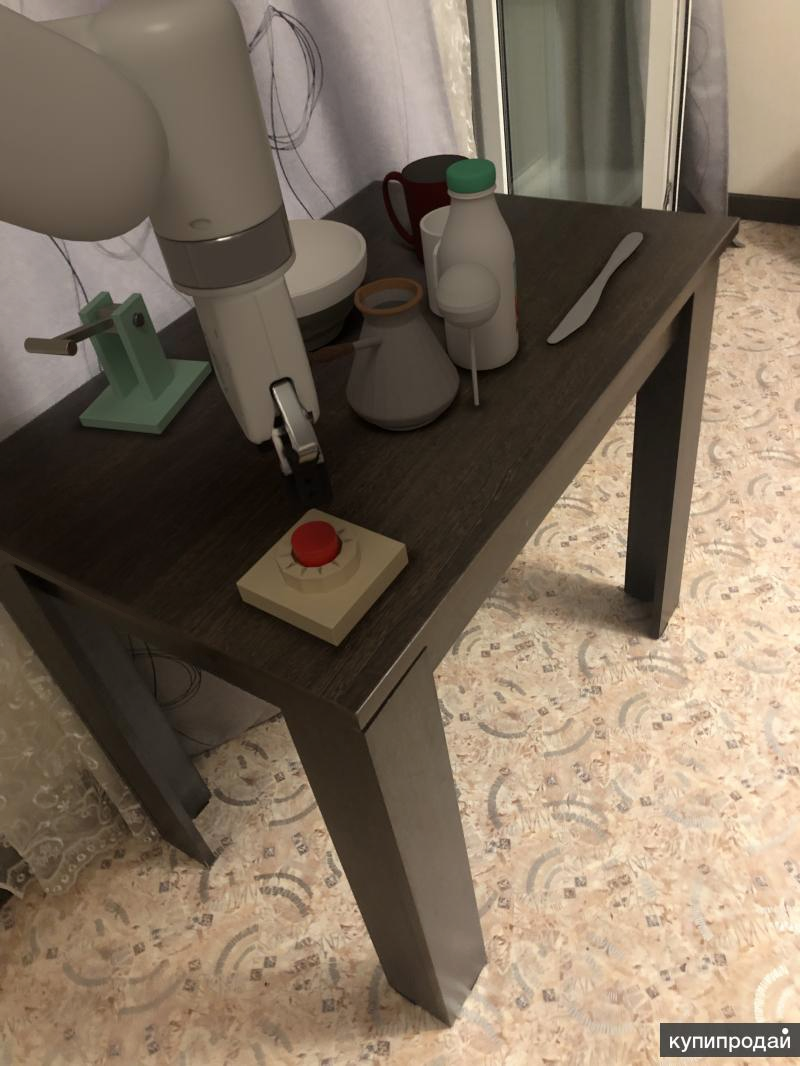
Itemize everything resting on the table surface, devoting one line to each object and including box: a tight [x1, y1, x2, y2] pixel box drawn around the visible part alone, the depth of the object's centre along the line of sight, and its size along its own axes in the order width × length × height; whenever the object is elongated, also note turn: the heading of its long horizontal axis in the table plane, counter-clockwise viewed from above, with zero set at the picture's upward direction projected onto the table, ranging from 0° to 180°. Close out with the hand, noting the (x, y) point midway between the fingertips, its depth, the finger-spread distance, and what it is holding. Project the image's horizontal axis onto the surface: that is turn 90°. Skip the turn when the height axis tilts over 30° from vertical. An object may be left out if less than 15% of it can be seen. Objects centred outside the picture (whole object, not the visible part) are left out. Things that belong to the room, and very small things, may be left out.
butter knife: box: [546, 231, 644, 344], centre depth 96 cm, size 1×27×3 cm
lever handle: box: [23, 302, 122, 357], centre depth 81 cm, size 12×5×2 cm, turn 162°
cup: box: [420, 206, 450, 318], centre depth 93 cm, size 8×12×10 cm
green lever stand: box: [77, 291, 213, 435], centre depth 88 cm, size 12×10×12 cm
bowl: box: [284, 218, 368, 352], centre depth 94 cm, size 20×20×10 cm
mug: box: [381, 153, 470, 265], centre depth 104 cm, size 12×9×11 cm
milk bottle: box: [439, 157, 519, 371], centre depth 82 cm, size 8×8×20 cm
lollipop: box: [435, 262, 501, 406], centre depth 77 cm, size 6×6×15 cm
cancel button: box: [291, 521, 339, 567], centre depth 65 cm, size 4×4×2 cm
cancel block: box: [235, 508, 409, 647], centre depth 66 cm, size 10×10×4 cm
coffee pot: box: [306, 277, 460, 432], centre depth 76 cm, size 21×12×15 cm, turn 151°
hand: (294, 473), depth 60 cm, fingers open, 7 cm apart
